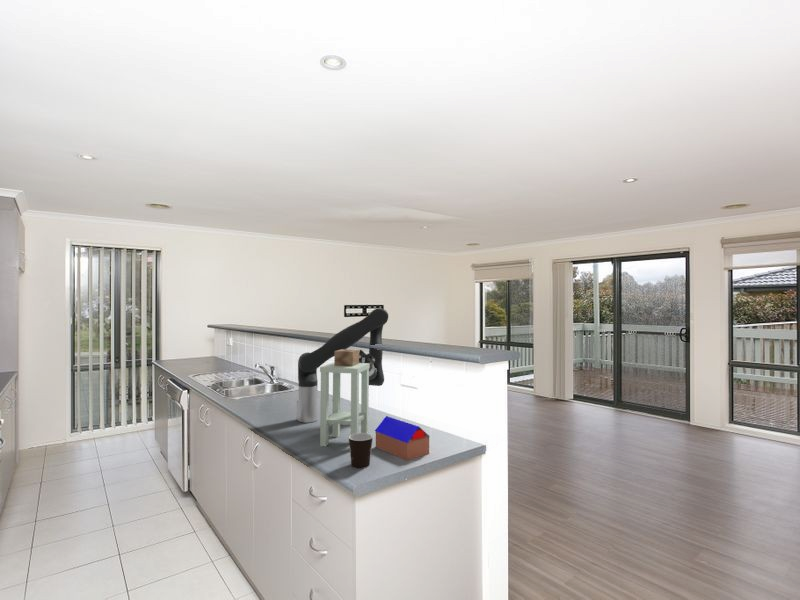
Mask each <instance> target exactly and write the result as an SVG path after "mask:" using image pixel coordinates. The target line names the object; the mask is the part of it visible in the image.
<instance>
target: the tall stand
mask: <svg viewBox="0 0 800 600" xmlns="http://www.w3.org/2000/svg"><path fill="white" fill-rule="evenodd" d="M369 368H370V363H359V364H357V365H355V366H334V362H331V363H329V364H325V365H321V366H320V367H319V372H320V401H319V402H320V411H319V414H320V416H319V417H320V418H319V419H320V422H319V423H320V424H319V425H320V427H319V428H320V429H319V430H320V431H319V433H320V434H319V437H320V438H319V440H320V441H319V446H320V447H322V446H325V447H324V448H326V447H328V446H329V424H331V425H332V437H333V438H339V437H340V436H341V425H345V426H346V425H347V426H350V435H352V434H357V433H366V434H369V414H370V413H369V405H370V404H369V401H370V400H369V397H370V394H369V392H370V391H369V390H370V389H369V386H370V385H369ZM360 372H361V373H360ZM331 373H332V413H330V412H329V409H330V408H329V406H330V405H329V404H330V403H329V401H330V397H329V396H330V389H329V388H330V374H331ZM341 374H350V411H342V410H341ZM360 374H361V375H360ZM360 376H361V379H360ZM360 380H361V384H360ZM360 385H361V386H360ZM360 387H361V388H360ZM360 392H361V395H360ZM360 396H361V399H360ZM360 401H361V402H360ZM360 404H361V405H360ZM360 408H361V409H360ZM360 411H361V412H360ZM329 413H330V414H329ZM359 423H360V425H359ZM359 427H360V428H359ZM327 445H328V446H327Z"/></svg>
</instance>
